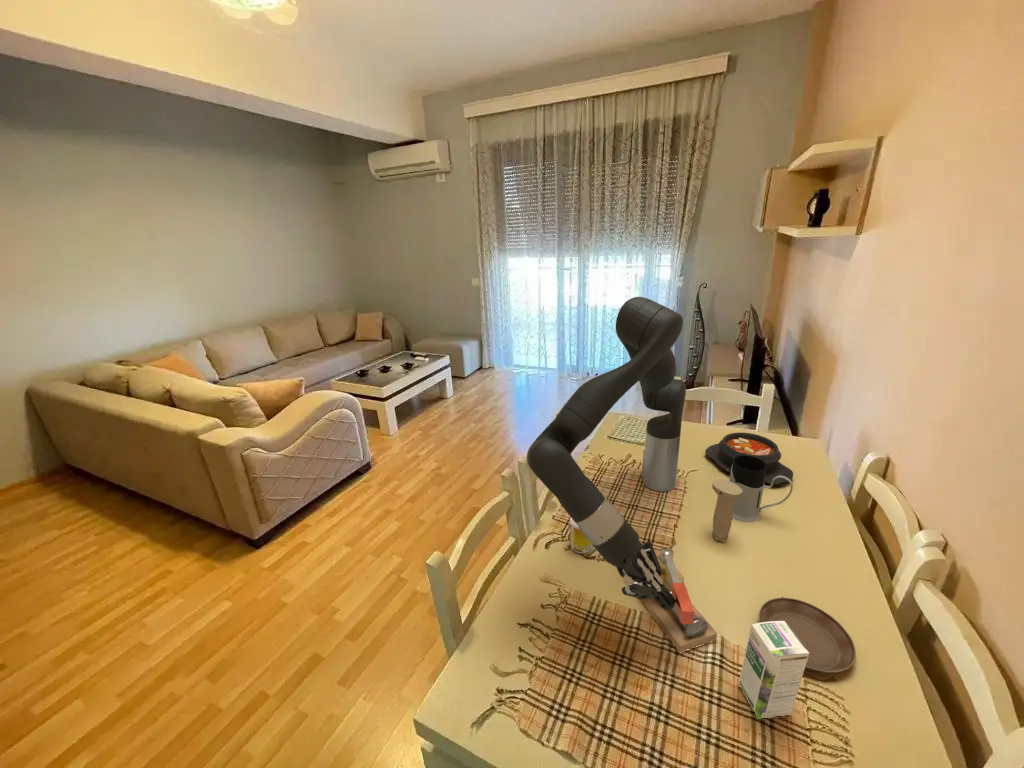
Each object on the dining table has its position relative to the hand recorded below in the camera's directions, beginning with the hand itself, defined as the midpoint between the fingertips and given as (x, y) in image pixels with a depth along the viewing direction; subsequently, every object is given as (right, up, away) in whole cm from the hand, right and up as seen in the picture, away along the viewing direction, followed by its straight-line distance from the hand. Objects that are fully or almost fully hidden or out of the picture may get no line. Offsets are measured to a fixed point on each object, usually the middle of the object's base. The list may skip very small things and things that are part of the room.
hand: (670, 605), depth 74 cm
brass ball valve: (+3, -5, +13) cm, 14 cm away
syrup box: (+13, -13, -5) cm, 19 cm away
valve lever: (+2, +1, +4) cm, 5 cm away
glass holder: (+35, +4, +37) cm, 51 cm away
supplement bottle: (-11, -1, +30) cm, 32 cm away
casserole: (+45, +13, +57) cm, 74 cm away
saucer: (+26, -9, +4) cm, 28 cm away
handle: (+23, +1, +30) cm, 37 cm away
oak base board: (+3, -6, +14) cm, 15 cm away
